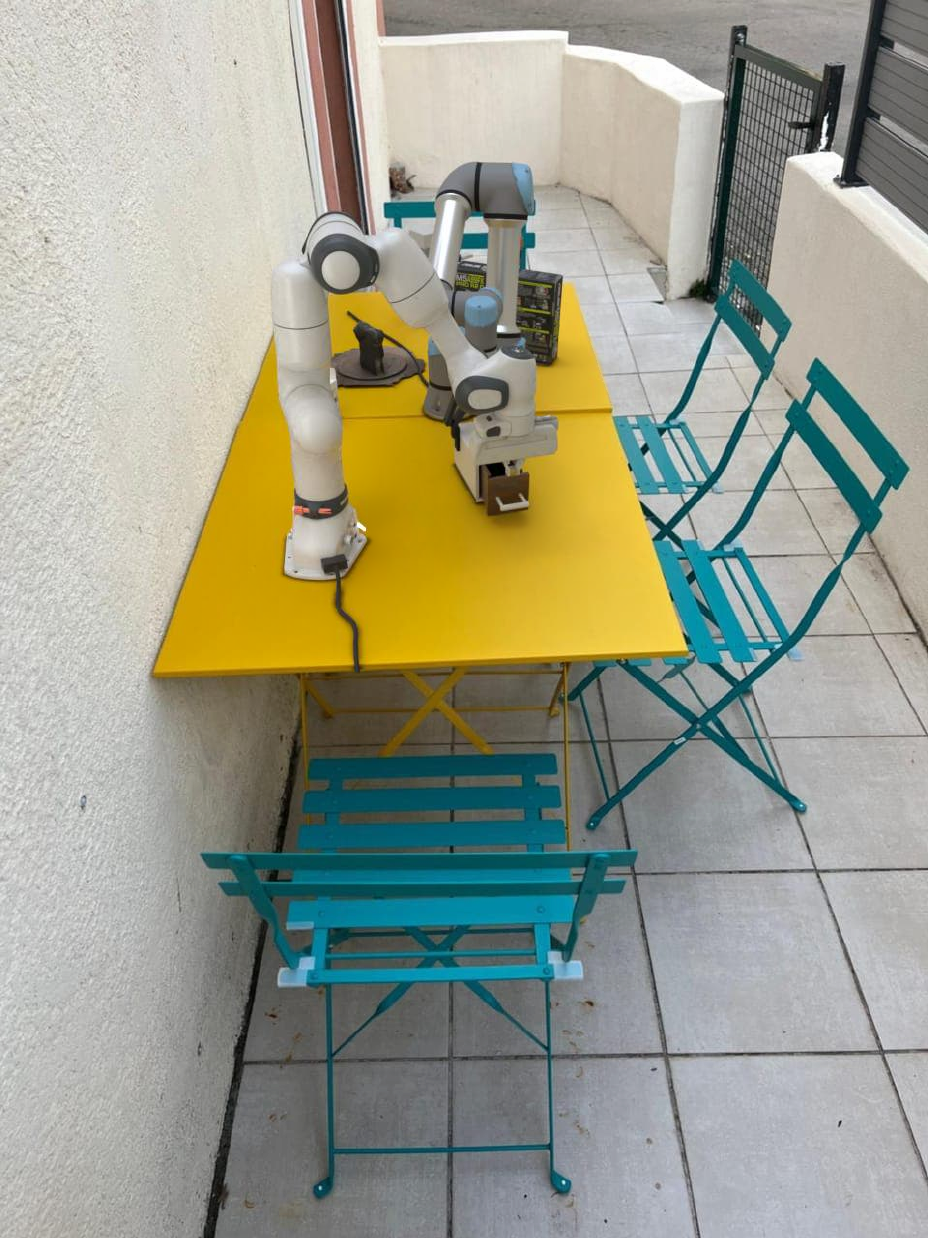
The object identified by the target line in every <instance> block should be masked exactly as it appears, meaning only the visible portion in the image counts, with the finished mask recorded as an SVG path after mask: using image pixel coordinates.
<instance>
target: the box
mask: <svg viewBox="0 0 928 1238" xmlns="http://www.w3.org/2000/svg"><path fill="white" fill-rule="evenodd" d="M486 274H487V263H483V262H477V261H470V260H461V262H459V263H458V267H457V273H456V279H455V285H454V291H468V292H478V291H479V290H480V289H482V288H484V287H486ZM563 279H564V275H563V274H561V273H553V272H547V271H540V270H534V269H526V268H520V267H519V275H518V293H517V310H516V326H517V327H518V328H519V329H520V330H521V336H520V337H523V338H524V339H525V340H526V343H525V349H527V350H528V351H529V352H531V354H532V355H533V356H534V358H535V361H536V365H541V366H548V367H550V366H551V365H552V364H553V363H554V362H555V360H556V359H557V358H558V351H559V350H558V349H559V335H560V321H561V306H562V293H563V292H562V291H563V283H564V282H563V281H564V280H563ZM458 325H459V326H461V327H464V328H465V324H458Z"/></svg>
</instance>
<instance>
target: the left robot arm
mask: <svg viewBox="0 0 928 1238" xmlns="http://www.w3.org/2000/svg"><path fill="white" fill-rule="evenodd" d="M301 254H302V256H300V257H294V258H291V257H290V258H287V259H284V260H282V261H280V262H279V263H277V264H276V265H275V267H274V268H273V270H272V272H271V280H270V311H271V322H272V331H273V338H274V346H275V354H276V374H277V376H276V377H277V390H278V391H277V393H278V401H279V406H280V407H281V410H282V413H283V416H284V418H285V422H286V425H287V429H288V433H289V440H290V441H289V442H290V455H291V457H290V463H291V471H292V477H293V483H294V489H293V504H294V505H293V506H292V508H291V510H292V523H291V524H292V526H291V527H290V530H289V532H288V533H287V535H286V543H285V555H284V574H285V575H287V576H289V577H292V578H295V579H300V580H310V581H330V580H335V583H336V585H335V586H336V589H335V590H336V592H335V593H336V594H335V602H334V603H335V604H334V605H335V608H336V610H337V612H338V613H339V615H340V616H341V617H342V618H344V619H345V620H346V621H347V622H348V623H349V624H350V626H351V629H352V634H353V635H352V656H353V667H354V673H355V674H360V672H361V668H360V660H359V658H360V657H359V630H358V628H359V627H358V625H357V623H356V622H355V620H354V619H353V618H352V617H351V616H350V615H349V614H348V613H347V612H345V611H344V610H343V607H342V606H341V598H342V597H341V596H342V580H341V579H342V578H343V577H345V576H346V575H347V573H348V572H349V571H350V569H351V567H352V566H353V564H354V563H355V561H356V559H357V558H358V557H359V556H360V553H361V552H362V551H363V549H364V548H365V546H366V544H367V542H368V539H367V536H366V535H365V534H363V533H361V532H360V529H361V530H363V531H364V532H366V530H367V529H366V527H365V526H363V524H361V523H360V522H359V520H358V514H357V510H356V508H354V506H352V505H351V503H350V502H349V489H348V486H347V483H346V482H345V474H344V464H343V463H344V462H343V441H344V440H343V439H344V437H343V436H344V435H343V434H344V423H343V416H342V412H341V409H340V410H339V408H338V406H337V404H336V402H335V399H334V397H333V394H332V391H331V386H330V362H331V358H332V357H333V350H332V337H331V326H330V325H331V324H330V314H329V313H330V312H329V301H328V300H329V293H330V294H332V295H338V296H342V295H348V294H352V293H355V292H357V291H359V290H361V289H366V288H369V287H372V286H373V285H374V284H375V285H376V287H377V288H378V290H379V291H380V292H381V293H382V295H383V297H384V298H385V300H386V302H387V303H388V305H389V306H390V308H391V309H392V310H393V312H394V313H395V314H396V315H397V316H398V318H399V319H400V320H401V321H402V322H403V323H404V324H405V325H406V326H407V327H409V328H411V329H419V330H421V329H423V330H424V331H425V332H426V333H427V334H428V336H429V337H431V338H432V340H433V341H434V343H435V344H436V346H437V347H438V349H439V350H440V352H441V353H442V355H443V357H444V359H445V367H446V374H447V377H448V379H449V381H450V384H451V387H452V391H453V394H454V397H455V400H456V403H457V405H458V407H459V408H460V409H461V410H462V411H464V412H466V413H468V414H472V416H475V417H474V418H473V422H474V426H475V429H474V430H473V431H472V433H471V436H470V443H469V458H470V460H471V461H472V463H473V464H474V465H476V466H477V465H484V464H491V463H498V462H502V463H503V464H504V466H505V468H506V475H507V477H509V476H515V475H520V469H522V467H523V466H524V464H525V463H526V459H532V458H537V457H544V456H551V455H555V453H557V451H558V443H559V441H558V433H557V432H558V430H559V425H560V423H559V422H560V421H559V418H558V417H557V416H555V415H553V414H547V415H537V416H536V402H535V395H536V393H537V382H538V375H537V374H538V372H537V371H538V370H537V364H536V361H535V358H534V356H533V355H532V354H531V352H529V351H528V350H527V349H525V348H523V347H520V346H515V345H508V346H503V347H501V348H500V350H499V351H498V352H497V353H496V354H494V355H493V356H491V357H490V358H489V357H488V355H487V354H486V353H485V352H484V351H483V350H482V349H480V348H479V347H477V346H476V345H474V344H473V343H471V342H470V341H469V340H468V339H467V338H466V336H465V335H464V333H463V332H462V330H461V329H460V327H459V325H458V324H457V322H456V321H455V319H454V318H453V316H452V314H451V312H450V310H449V307H448V304H449V300H448V297H447V294H446V291H445V289H444V286H443V284H442V282H441V280H440V278H439V276H438V274H437V272H436V271H435V269H434V267H433V266H432V264H431V262H430V261H429V259H428V258H427V256H426V255H425V254H424V252H423V251H422V250H421V248H420V247H419V246H418V244H417V243H416V242H415V241H414V240H413V239H412V237H411V236H410V235H409V232H407V231H406V230H405V229H403V228H401V227H396V226H394V227H393V226H392V227H387V228H384V229H382V230H380V231H378V232H377V233H376V234H372V235H367V234H364V231H363V229H362V227H361V225H360V223H359V222H358V221H357V219H355V218H354V217H353V216H352V215H350V214H349V213H347V212H344V211H341V210H329V211H325V212H324V213H322V214H321V215H319V216H318V217H317V218H316V219H315V220H314V222H313V224H312V225H311V227H310V229H309V231H308V233H307V236H306V238H305V239H304V243H303V244H302V247H301ZM511 460H518V461H517V462H516V464H515V465H514V466H508V465H507V464H510V461H511Z"/></svg>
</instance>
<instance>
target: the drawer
mask: <svg viewBox="0 0 928 1238" xmlns="http://www.w3.org/2000/svg"><path fill="white" fill-rule="evenodd" d="M515 464H516V460H511V461H510V464H507V465H508V466H514V465H515ZM479 494H480V496H481V497H482V499H483V501H482V502H483V503H484V505H485V506H486V507H485V508H486V513H485V514H486V515H487V517H491V516H497V515H499V516H500V515H504V514H510V513H517V512H523V511H528V510H529V507H530V502H529V495H530V473H529V471H523V469H522V468H521V469H520V475H515V476H509V477H507V475H506V468H505V466H504V464H503V463H502V462H498V463H491V464H484V465H479Z"/></svg>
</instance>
